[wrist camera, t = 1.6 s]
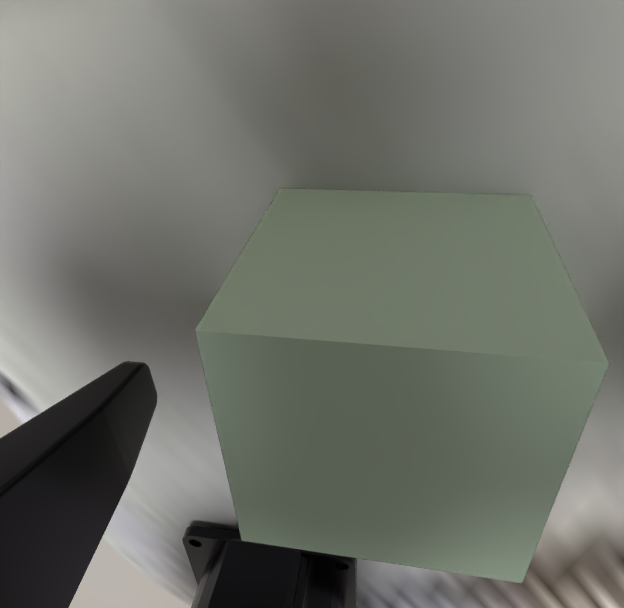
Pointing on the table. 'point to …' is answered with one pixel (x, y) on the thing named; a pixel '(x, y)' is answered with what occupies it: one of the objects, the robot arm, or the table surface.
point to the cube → (400, 377)
